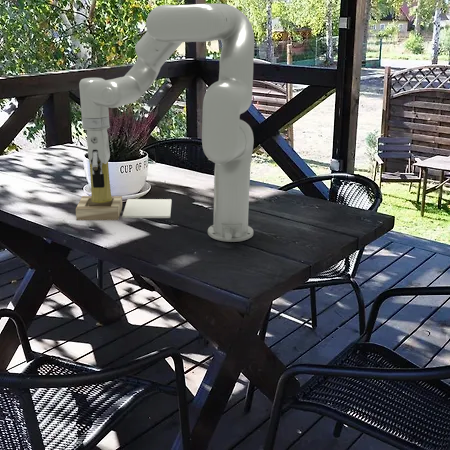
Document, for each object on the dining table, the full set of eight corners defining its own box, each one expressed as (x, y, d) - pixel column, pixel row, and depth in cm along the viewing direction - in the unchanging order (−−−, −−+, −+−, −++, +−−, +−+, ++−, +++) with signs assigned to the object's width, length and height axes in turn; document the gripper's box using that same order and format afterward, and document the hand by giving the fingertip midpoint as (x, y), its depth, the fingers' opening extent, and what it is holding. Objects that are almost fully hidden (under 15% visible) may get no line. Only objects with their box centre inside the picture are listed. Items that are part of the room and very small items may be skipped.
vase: (86, 201, 177) (82, 154, 172) (100, 196, 182) (96, 149, 177) (103, 204, 174) (99, 156, 169) (116, 198, 179) (113, 151, 174)
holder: (118, 220, 174) (117, 208, 173) (76, 220, 174) (75, 208, 172) (122, 206, 186) (122, 196, 184) (83, 206, 185) (82, 196, 184)
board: (170, 218, 177) (170, 216, 177) (122, 217, 176) (122, 216, 176) (171, 201, 192) (171, 199, 192) (127, 200, 191) (127, 199, 191)
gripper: (105, 128, 162) (109, 192, 168) (112, 117, 178) (116, 176, 184) (77, 128, 162) (82, 193, 168) (87, 117, 178) (92, 176, 184)
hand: (100, 183), depth 176 cm, fingers closed on vase, 5 cm apart
